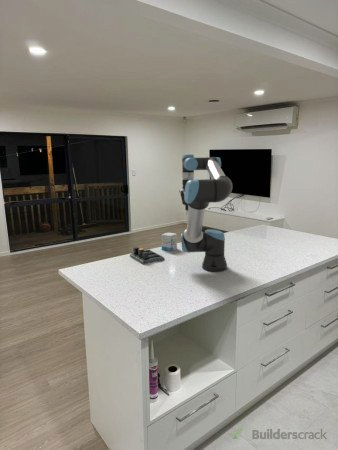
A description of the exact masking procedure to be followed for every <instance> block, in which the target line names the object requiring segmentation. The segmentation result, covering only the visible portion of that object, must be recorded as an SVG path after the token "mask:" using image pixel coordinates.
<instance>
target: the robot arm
mask: <svg viewBox="0 0 338 450" xmlns="http://www.w3.org/2000/svg"><path fill="white" fill-rule="evenodd" d="M181 158H182V159H181V164H182V165H181V167H182V171H181V172H182V173H181V174H182V175H181V176H182V183H181V184H182V188H181V189H180V190H179V193H180V198H181V203H182V205H183V206H184V207H185V215H186V216H187V220H186V221H187V222H186V229H185V230H184V231H183V232H181V233H180V241H181V249H182V252H183V253H188V254H189V253H204V258H203V261H202V266H201V267H202V269H203V270H205V271H207V272H208V271H209V272H217V273H218V272H223V271H226V270H227V269H228V264H227V260H226V256H225V244H226V243H225V241H226V239H225V238H226V237H225V236H226V235H225V233H224V232H223V231H221V230H217V229H213V228H212V229H205V230H204V232H203V231H202V230H203V225H204V218H205V211H206V209H207V208H208V207H209V205H210V204H211V203H221V202H223V201H225V200H227V199H228V198H229V196H230V195H231V194H232V191H233V182H232V180H231V178H229V177H228V176H226V174H225V173H224V171H223V169H222V168H221V167H222V160H221V158H220V157H217V156H216V157H215V156H210V157H208V156H207V157H195V155H194V154H183V155H182V157H181ZM195 171H207V173H208V175H209V177H210V179H208V178H207V179H197V178H195Z"/></svg>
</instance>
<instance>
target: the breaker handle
mask: <svg viewBox="0 0 338 450" xmlns="http://www.w3.org/2000/svg"><path fill="white" fill-rule="evenodd" d="M144 250H145V249H144V248H139V249H138V256H139V257H143V256H142V252H144Z"/></svg>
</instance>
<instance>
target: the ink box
mask: <svg viewBox="0 0 338 450" xmlns="http://www.w3.org/2000/svg"><path fill="white" fill-rule="evenodd" d="M177 249H178V234H177V233H174V232H165V233H162V234H161V250H162V251H163V250H164V251H169V252H172V251H174V250H177Z"/></svg>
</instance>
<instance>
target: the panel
mask: <svg viewBox="0 0 338 450" xmlns="http://www.w3.org/2000/svg"><path fill="white" fill-rule="evenodd" d="M138 249H140V248H139V247H138V246H135V247H132V250H133V251H132V252H131V253H130V254H129V257H130V258H131V259H133V260H135V261H136V262H138V263H140V264H141V265H147V264H151V263H156V262H157V263H158V262H161V261H165V260H166V259H165V257H164V256H163V255H161V254H158V253H157V252H155V251H153V250H151V249H144V252H142V256H143V257H139V256H138Z"/></svg>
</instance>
